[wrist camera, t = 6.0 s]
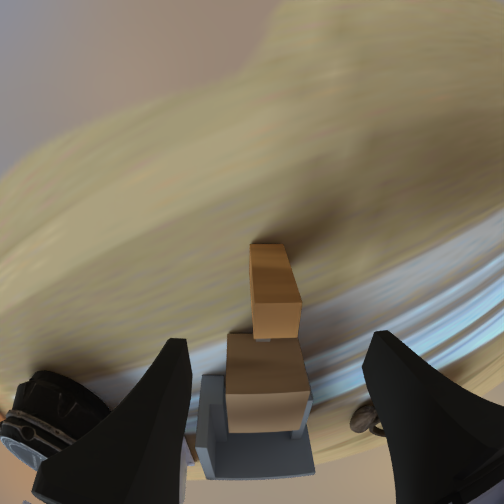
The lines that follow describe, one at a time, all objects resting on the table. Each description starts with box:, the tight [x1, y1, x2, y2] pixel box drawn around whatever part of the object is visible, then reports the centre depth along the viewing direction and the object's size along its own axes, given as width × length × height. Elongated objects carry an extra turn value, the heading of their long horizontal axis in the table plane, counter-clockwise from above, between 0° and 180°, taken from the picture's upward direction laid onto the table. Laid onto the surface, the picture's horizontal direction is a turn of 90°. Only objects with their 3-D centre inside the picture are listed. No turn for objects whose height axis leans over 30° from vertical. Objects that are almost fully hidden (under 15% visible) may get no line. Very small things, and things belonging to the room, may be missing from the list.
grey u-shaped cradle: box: [195, 373, 315, 480], centre depth 21 cm, size 8×10×7 cm
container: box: [0, 371, 111, 471], centre depth 21 cm, size 13×13×10 cm
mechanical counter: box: [350, 406, 386, 437], centre depth 24 cm, size 7×13×10 cm
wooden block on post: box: [226, 244, 310, 433], centre depth 17 cm, size 12×5×6 cm, turn 179°
